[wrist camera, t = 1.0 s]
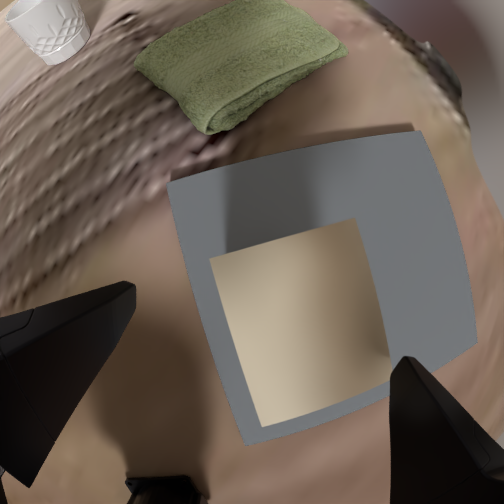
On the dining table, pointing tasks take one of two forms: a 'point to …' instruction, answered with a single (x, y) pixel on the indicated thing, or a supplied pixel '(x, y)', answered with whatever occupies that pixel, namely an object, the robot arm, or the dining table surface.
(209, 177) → the rubber pad
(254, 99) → the washcloth
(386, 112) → the dining table surface
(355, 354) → the maple block
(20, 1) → the white cup
